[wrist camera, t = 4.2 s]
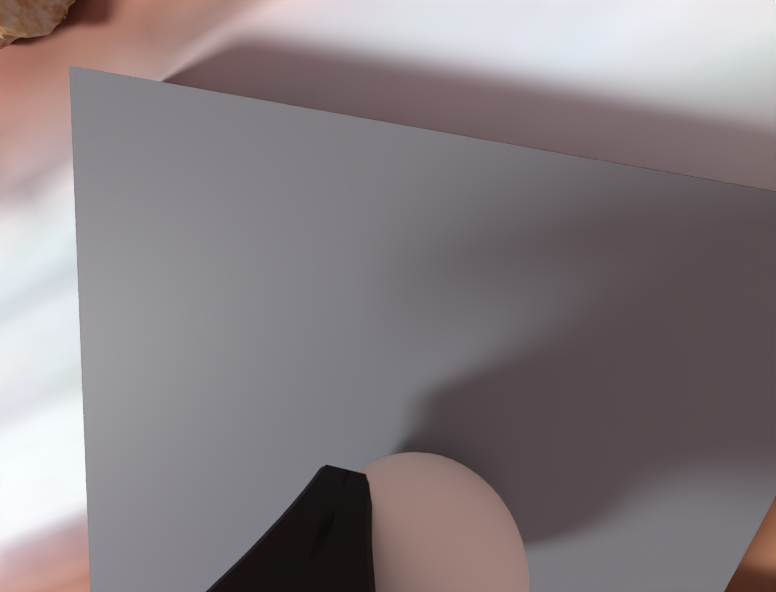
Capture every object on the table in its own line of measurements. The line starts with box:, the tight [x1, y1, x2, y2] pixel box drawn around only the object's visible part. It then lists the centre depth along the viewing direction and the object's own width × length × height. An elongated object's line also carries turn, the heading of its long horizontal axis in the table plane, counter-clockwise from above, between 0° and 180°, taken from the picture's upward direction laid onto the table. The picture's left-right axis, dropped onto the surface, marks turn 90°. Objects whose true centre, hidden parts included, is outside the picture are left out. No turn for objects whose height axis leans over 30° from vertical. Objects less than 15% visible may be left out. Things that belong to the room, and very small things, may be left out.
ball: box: [357, 452, 529, 592], centre depth 8 cm, size 4×4×4 cm
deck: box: [69, 66, 776, 592], centre depth 11 cm, size 16×24×2 cm, turn 80°
